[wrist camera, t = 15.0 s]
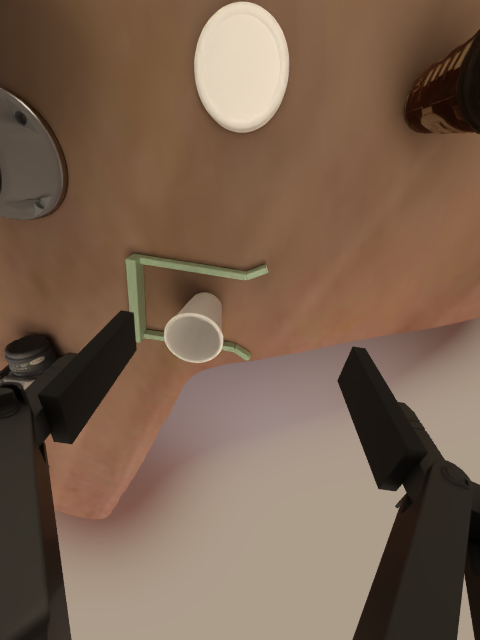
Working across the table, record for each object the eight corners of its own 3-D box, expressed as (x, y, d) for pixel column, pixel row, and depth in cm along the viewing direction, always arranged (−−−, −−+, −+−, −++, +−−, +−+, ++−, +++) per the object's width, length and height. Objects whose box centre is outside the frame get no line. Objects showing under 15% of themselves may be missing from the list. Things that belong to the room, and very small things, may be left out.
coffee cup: (464, 139, 31) (580, 120, 20) (391, 153, 32) (462, 144, 21) (484, 39, 27) (646, -56, 16) (399, 60, 28) (493, -14, 17)
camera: (84, 335, 49) (46, 370, 41) (95, 376, 55) (65, 415, 46) (3, 328, 50) (-51, 362, 41) (23, 370, 55) (-22, 407, 46)
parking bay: (139, 339, 49) (132, 349, 47) (132, 242, 40) (124, 247, 37) (249, 356, 50) (249, 366, 47) (268, 264, 40) (269, 270, 38)
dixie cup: (174, 313, 46) (154, 346, 37) (194, 275, 42) (178, 302, 33) (215, 335, 48) (206, 372, 39) (238, 300, 44) (234, 332, 35)
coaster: (202, 133, 33) (196, 129, 30) (196, 18, 28) (188, -1, 25) (282, 133, 32) (285, 129, 29) (291, 16, 27) (295, -3, 24)
